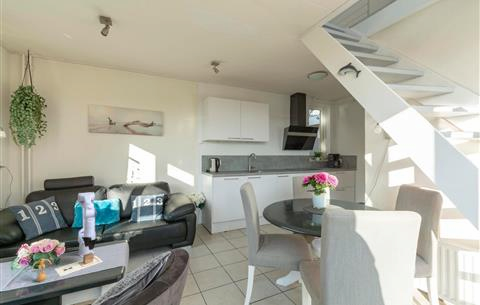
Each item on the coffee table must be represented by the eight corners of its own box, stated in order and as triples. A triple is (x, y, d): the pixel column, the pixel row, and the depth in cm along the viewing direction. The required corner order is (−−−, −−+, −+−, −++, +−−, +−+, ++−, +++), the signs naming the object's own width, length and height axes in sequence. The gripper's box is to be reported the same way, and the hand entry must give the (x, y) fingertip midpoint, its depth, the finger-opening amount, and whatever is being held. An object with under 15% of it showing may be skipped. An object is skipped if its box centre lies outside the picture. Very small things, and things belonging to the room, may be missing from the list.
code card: (54, 269, 130) (54, 268, 130) (95, 255, 147) (95, 255, 147) (60, 276, 122) (60, 276, 122) (103, 261, 139) (103, 261, 139)
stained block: (83, 262, 138) (83, 254, 138) (91, 259, 141) (91, 252, 141) (85, 264, 135) (85, 256, 135) (93, 261, 139) (93, 254, 139)
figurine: (31, 285, 114) (32, 263, 114) (30, 281, 118) (31, 259, 118) (51, 278, 120) (52, 257, 120) (50, 274, 124) (51, 254, 124)
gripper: (78, 226, 140) (78, 247, 140) (86, 231, 131) (85, 253, 131) (91, 224, 146) (90, 243, 145) (99, 228, 137) (98, 249, 137)
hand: (89, 248), depth 139 cm, fingers open, 7 cm apart
